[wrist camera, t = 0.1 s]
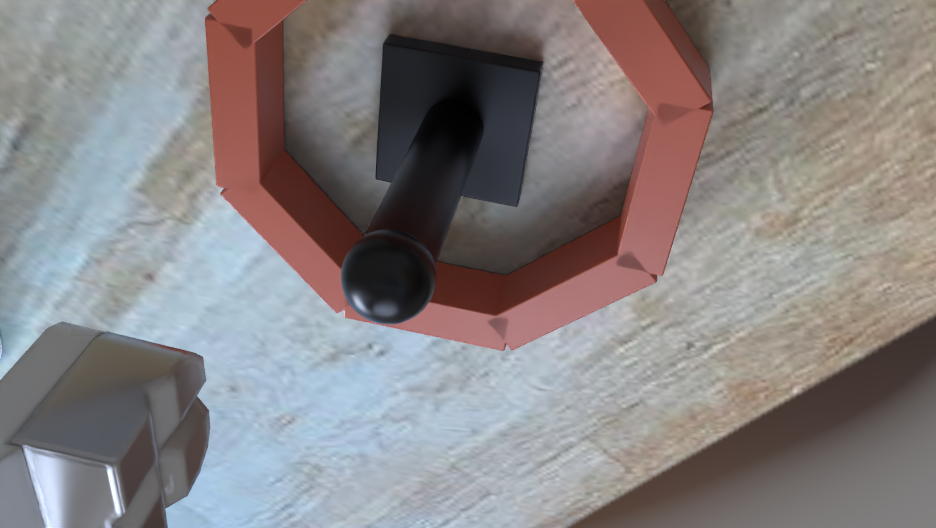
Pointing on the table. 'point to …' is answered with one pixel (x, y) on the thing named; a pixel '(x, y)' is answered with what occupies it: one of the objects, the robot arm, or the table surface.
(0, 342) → the candle
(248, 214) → the hoop
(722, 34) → the table surface
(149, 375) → the robot arm
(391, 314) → the peg stand
